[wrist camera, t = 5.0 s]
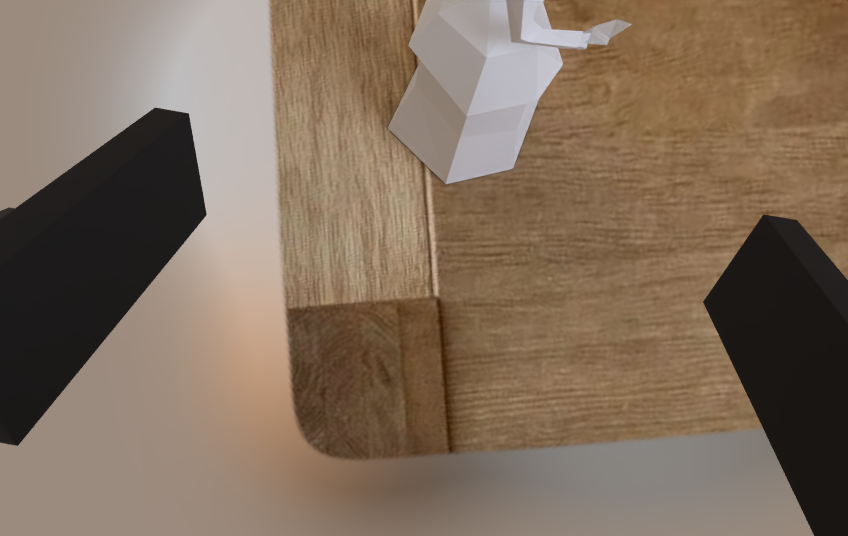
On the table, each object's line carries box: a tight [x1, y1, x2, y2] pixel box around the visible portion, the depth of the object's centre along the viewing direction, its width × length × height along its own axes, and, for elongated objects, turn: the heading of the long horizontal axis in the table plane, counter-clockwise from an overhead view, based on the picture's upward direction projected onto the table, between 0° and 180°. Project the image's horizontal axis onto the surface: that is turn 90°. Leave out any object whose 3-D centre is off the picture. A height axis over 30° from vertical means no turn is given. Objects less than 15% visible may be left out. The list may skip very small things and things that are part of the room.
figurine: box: [388, 0, 632, 184], centre depth 17 cm, size 7×8×18 cm
